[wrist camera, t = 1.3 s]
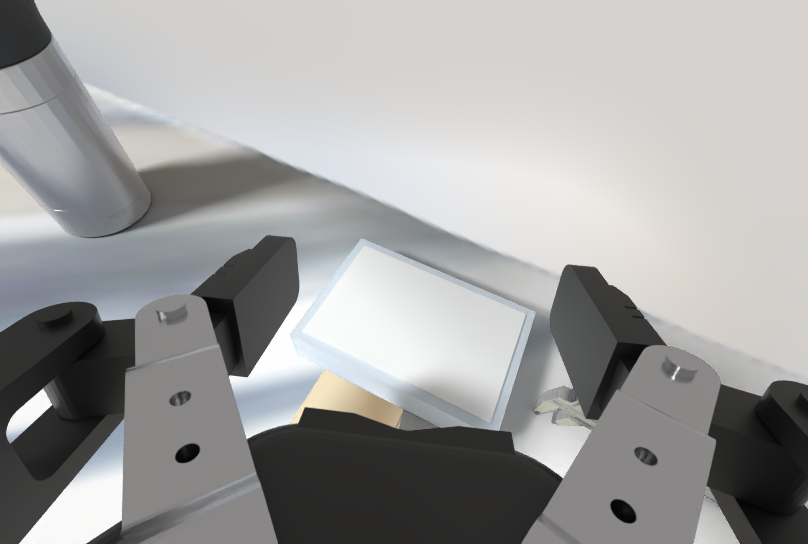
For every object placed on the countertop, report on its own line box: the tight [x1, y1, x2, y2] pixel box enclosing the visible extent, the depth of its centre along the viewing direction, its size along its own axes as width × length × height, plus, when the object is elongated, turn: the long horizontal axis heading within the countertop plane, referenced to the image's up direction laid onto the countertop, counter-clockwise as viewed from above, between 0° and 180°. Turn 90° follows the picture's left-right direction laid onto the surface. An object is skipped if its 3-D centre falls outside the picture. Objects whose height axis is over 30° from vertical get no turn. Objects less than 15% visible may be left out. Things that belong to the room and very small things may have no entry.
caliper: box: [533, 386, 717, 502], centre depth 29 cm, size 20×1×6 cm, turn 63°
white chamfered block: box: [290, 238, 536, 431], centre depth 34 cm, size 18×12×4 cm, turn 64°
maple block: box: [290, 370, 404, 429], centre depth 25 cm, size 5×5×12 cm
